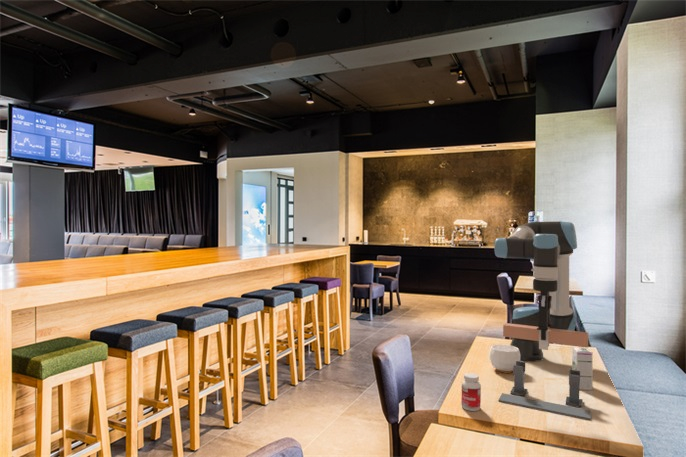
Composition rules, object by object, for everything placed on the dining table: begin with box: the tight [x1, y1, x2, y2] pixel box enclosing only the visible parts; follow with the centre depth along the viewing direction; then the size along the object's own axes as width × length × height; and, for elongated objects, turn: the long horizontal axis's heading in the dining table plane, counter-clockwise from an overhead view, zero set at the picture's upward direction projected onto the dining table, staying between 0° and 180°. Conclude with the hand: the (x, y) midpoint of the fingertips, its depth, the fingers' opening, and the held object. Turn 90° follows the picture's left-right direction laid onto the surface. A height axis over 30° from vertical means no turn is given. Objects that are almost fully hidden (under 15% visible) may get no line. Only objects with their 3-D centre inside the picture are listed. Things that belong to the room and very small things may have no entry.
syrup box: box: [571, 346, 594, 391], centre depth 166 cm, size 6×6×14 cm
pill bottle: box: [461, 372, 482, 412], centre depth 146 cm, size 6×6×11 cm
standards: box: [510, 360, 583, 409], centre depth 155 cm, size 7×23×11 cm, turn 60°
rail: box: [502, 322, 589, 349], centre depth 147 cm, size 4×26×4 cm, turn 60°
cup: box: [489, 343, 521, 374], centre depth 184 cm, size 12×12×10 cm
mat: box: [498, 392, 592, 421], centre depth 147 cm, size 7×28×1 cm, turn 60°
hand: (544, 347), depth 147 cm, fingers closed on rail, 4 cm apart
